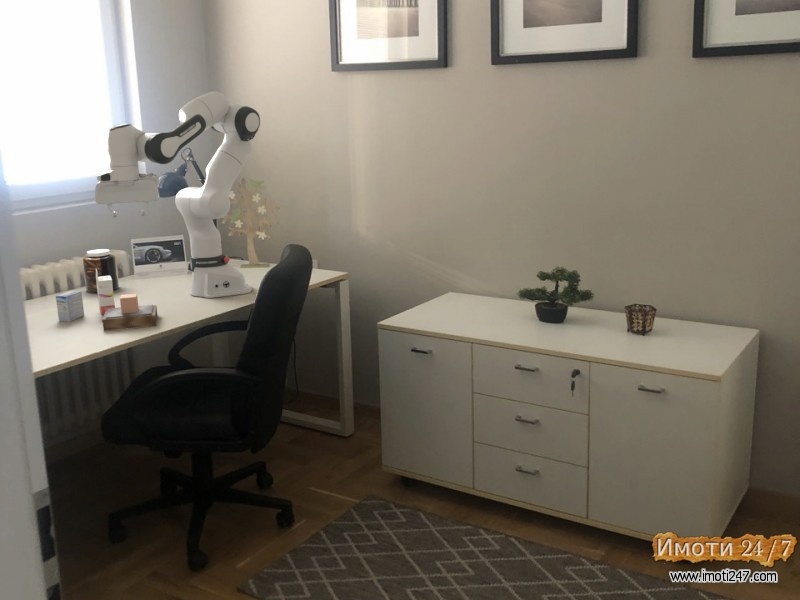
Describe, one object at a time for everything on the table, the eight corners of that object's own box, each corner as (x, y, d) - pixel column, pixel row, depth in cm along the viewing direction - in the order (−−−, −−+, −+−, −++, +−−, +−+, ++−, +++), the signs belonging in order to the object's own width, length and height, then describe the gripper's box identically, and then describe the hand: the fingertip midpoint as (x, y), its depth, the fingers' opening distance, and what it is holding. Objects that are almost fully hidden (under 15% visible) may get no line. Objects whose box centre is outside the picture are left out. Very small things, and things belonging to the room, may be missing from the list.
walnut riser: (157, 315, 284) (156, 303, 283) (155, 326, 271) (154, 314, 270) (107, 319, 281) (106, 307, 280) (103, 330, 267) (102, 318, 266)
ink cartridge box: (116, 313, 289) (111, 271, 285) (101, 315, 287) (96, 272, 283) (114, 307, 296) (109, 266, 293) (99, 309, 295) (94, 268, 291)
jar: (109, 293, 319) (104, 254, 315) (80, 292, 321) (75, 253, 317) (124, 286, 330) (119, 248, 327) (96, 285, 332) (92, 248, 329)
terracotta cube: (138, 308, 278) (137, 293, 277) (137, 312, 273) (136, 297, 272) (122, 309, 277) (121, 294, 275) (121, 313, 272) (119, 298, 271)
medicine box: (73, 315, 288) (70, 290, 286) (84, 315, 287) (81, 290, 285) (58, 321, 281) (55, 295, 278) (69, 321, 279) (66, 296, 277)
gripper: (158, 172, 282) (162, 213, 286) (93, 175, 278) (98, 216, 281) (157, 173, 276) (161, 215, 280) (91, 176, 272) (96, 219, 275)
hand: (129, 216), depth 280 cm, fingers open, 8 cm apart
